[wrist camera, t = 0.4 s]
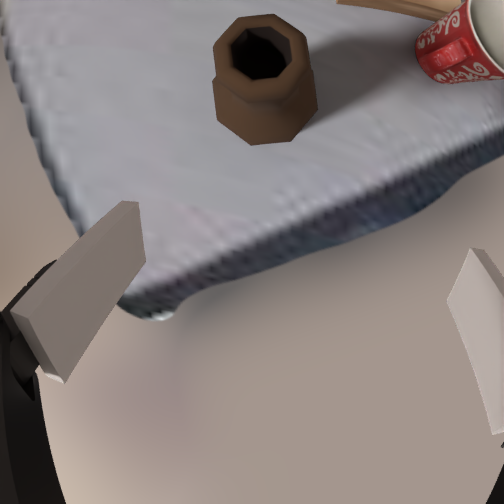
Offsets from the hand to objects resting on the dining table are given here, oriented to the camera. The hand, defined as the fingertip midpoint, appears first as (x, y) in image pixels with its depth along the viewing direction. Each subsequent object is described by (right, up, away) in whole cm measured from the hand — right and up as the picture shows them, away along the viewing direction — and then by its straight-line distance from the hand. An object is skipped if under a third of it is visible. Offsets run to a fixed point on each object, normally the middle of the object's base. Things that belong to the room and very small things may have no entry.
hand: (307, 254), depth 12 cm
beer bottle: (-1, +15, +20) cm, 25 cm away
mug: (+19, +23, +17) cm, 34 cm away
